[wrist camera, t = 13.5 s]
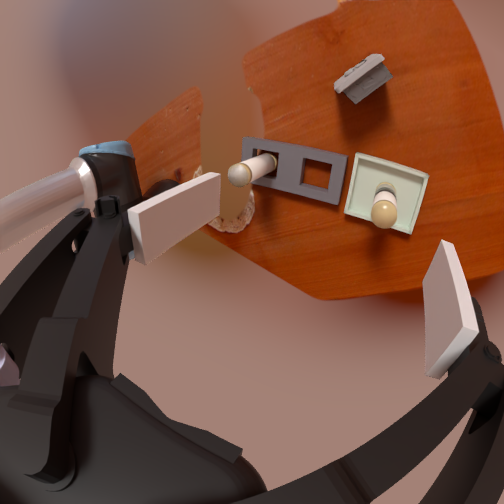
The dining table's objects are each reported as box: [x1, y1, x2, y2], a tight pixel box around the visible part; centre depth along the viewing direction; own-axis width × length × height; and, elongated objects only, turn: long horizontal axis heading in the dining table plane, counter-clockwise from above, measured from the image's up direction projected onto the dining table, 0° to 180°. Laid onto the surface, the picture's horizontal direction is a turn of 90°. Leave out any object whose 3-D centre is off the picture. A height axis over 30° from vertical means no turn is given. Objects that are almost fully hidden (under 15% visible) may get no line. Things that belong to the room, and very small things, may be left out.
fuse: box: [228, 153, 278, 187], centre depth 47 cm, size 4×4×12 cm
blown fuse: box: [371, 182, 397, 229], centre depth 38 cm, size 4×4×12 cm
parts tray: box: [344, 152, 429, 234], centre depth 43 cm, size 13×11×2 cm
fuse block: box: [241, 137, 348, 205], centre depth 49 cm, size 20×9×2 cm, turn 85°
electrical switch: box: [334, 54, 393, 104], centre depth 33 cm, size 9×5×9 cm, turn 133°
